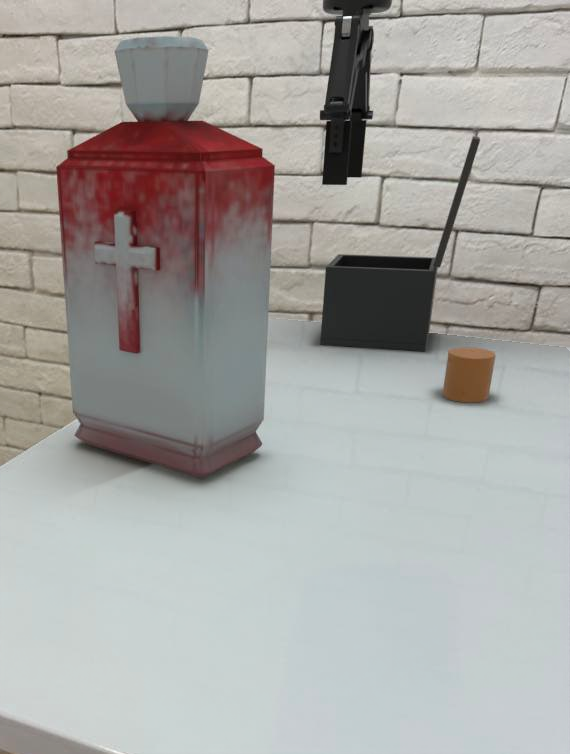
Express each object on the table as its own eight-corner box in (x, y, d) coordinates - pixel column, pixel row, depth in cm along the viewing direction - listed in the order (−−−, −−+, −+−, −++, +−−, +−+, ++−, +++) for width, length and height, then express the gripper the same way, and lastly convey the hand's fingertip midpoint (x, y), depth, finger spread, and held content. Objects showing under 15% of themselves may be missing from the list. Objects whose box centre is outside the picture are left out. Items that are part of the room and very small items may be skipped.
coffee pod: (487, 391, 84) (495, 348, 82) (488, 404, 80) (496, 359, 78) (442, 388, 85) (449, 345, 83) (441, 400, 81) (448, 356, 79)
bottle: (64, 448, 71) (34, 42, 57) (142, 417, 78) (132, 49, 64) (197, 489, 62) (199, 25, 49) (271, 451, 69) (291, 36, 56)
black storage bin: (319, 344, 102) (325, 266, 98) (332, 326, 111) (338, 254, 106) (425, 351, 98) (435, 271, 94) (429, 332, 107) (439, 257, 103)
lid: (472, 137, 87) (480, 139, 87) (472, 136, 96) (479, 137, 96) (433, 266, 94) (440, 267, 94) (436, 253, 103) (442, 254, 103)
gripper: (341, -14, 101) (328, 174, 111) (304, -48, 80) (292, 188, 90) (404, -18, 99) (384, 174, 109) (383, -53, 78) (361, 188, 88)
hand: (342, 181), depth 99 cm, fingers open, 13 cm apart
